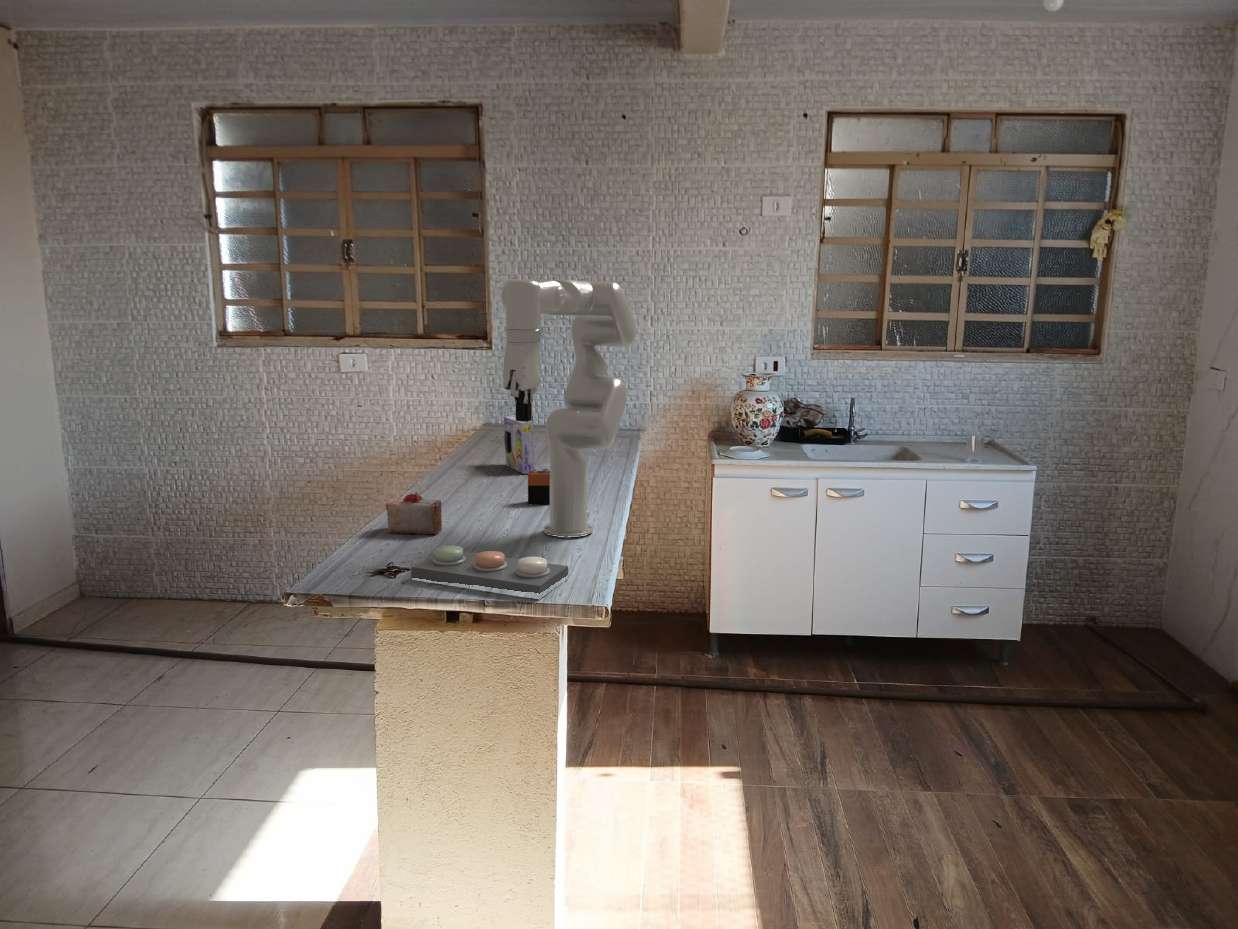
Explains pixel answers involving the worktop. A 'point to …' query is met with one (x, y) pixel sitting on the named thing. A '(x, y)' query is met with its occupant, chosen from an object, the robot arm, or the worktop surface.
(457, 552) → the button green
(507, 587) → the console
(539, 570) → the button white
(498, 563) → the button terracotta
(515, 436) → the cake pan box
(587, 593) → the worktop surface
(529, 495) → the battery
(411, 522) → the food item
